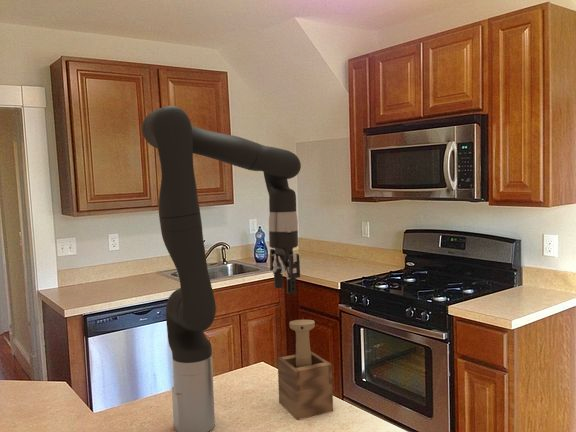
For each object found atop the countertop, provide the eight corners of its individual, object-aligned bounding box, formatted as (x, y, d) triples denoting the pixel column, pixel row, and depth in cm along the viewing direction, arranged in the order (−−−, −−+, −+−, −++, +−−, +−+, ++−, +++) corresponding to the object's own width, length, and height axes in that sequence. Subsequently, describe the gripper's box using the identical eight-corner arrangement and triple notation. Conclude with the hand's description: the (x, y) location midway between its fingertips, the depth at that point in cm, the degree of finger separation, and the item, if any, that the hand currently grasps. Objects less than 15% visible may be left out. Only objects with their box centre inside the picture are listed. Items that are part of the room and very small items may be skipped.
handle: (292, 376, 132) (289, 320, 131) (316, 375, 132) (314, 319, 131) (291, 383, 127) (289, 325, 126) (317, 383, 127) (314, 324, 126)
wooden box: (297, 419, 123) (295, 371, 122) (279, 402, 133) (277, 357, 132) (333, 410, 127) (331, 364, 126) (312, 394, 137) (311, 351, 136)
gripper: (260, 228, 136) (261, 287, 137) (280, 232, 123) (282, 297, 124) (285, 226, 139) (287, 284, 140) (308, 230, 126) (309, 294, 127)
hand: (284, 290), depth 132 cm, fingers open, 8 cm apart
